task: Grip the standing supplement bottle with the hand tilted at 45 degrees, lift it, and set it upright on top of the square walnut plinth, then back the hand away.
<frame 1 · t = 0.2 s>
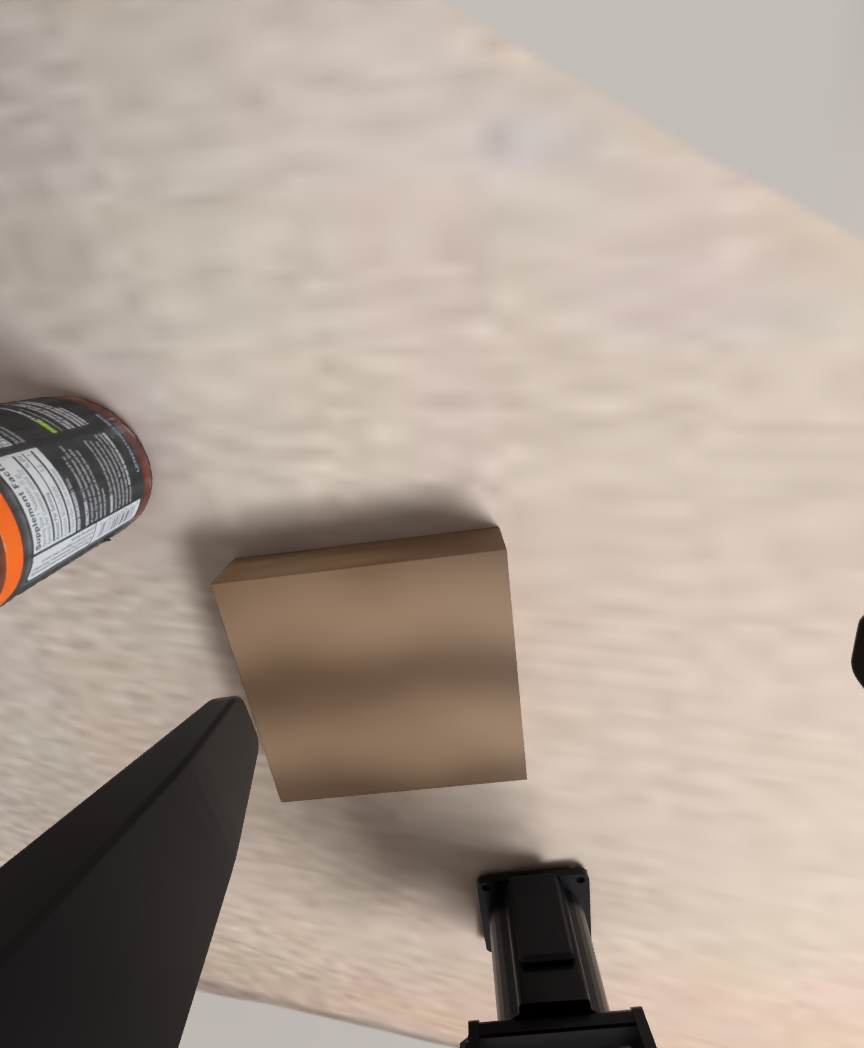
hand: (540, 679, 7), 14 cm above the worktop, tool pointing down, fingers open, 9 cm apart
supplement bottle: (91, 464, 21), on the worktop
walnut plinth: (386, 655, 24), on the worktop
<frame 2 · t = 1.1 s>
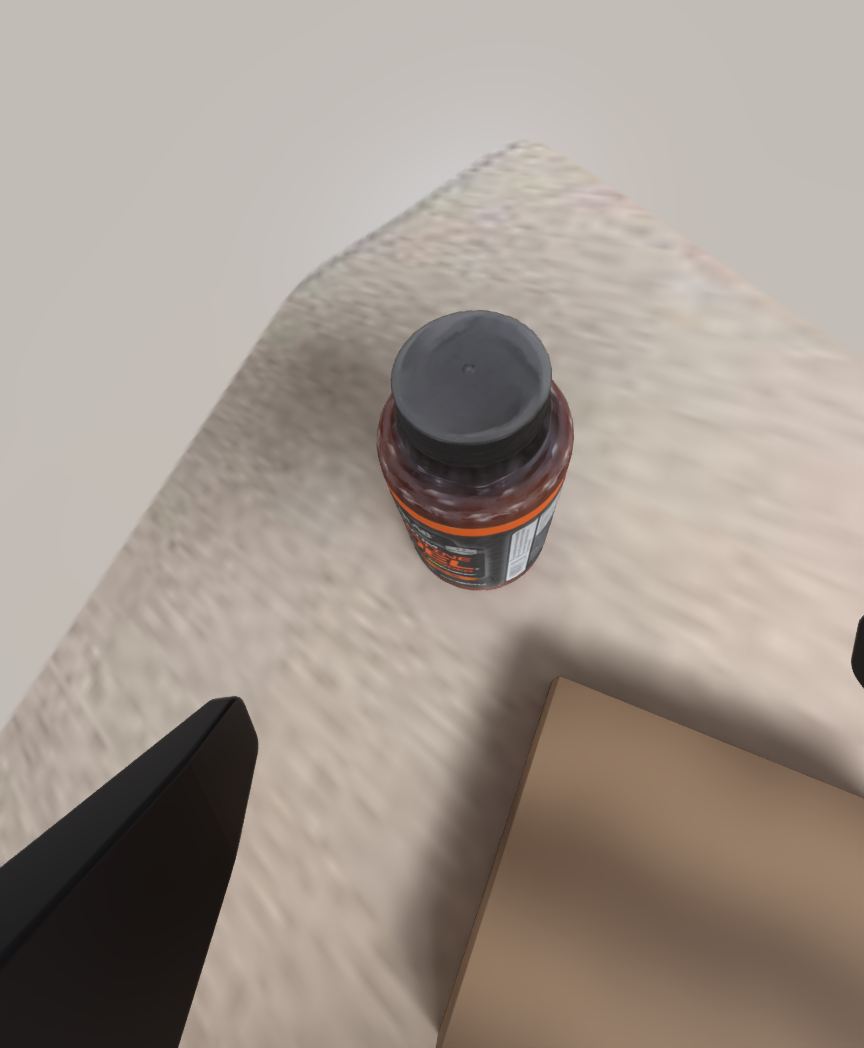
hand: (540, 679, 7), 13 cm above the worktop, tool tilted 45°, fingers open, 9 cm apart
supplement bottle: (479, 532, 23), on the worktop
walnut plinth: (670, 925, 17), on the worktop
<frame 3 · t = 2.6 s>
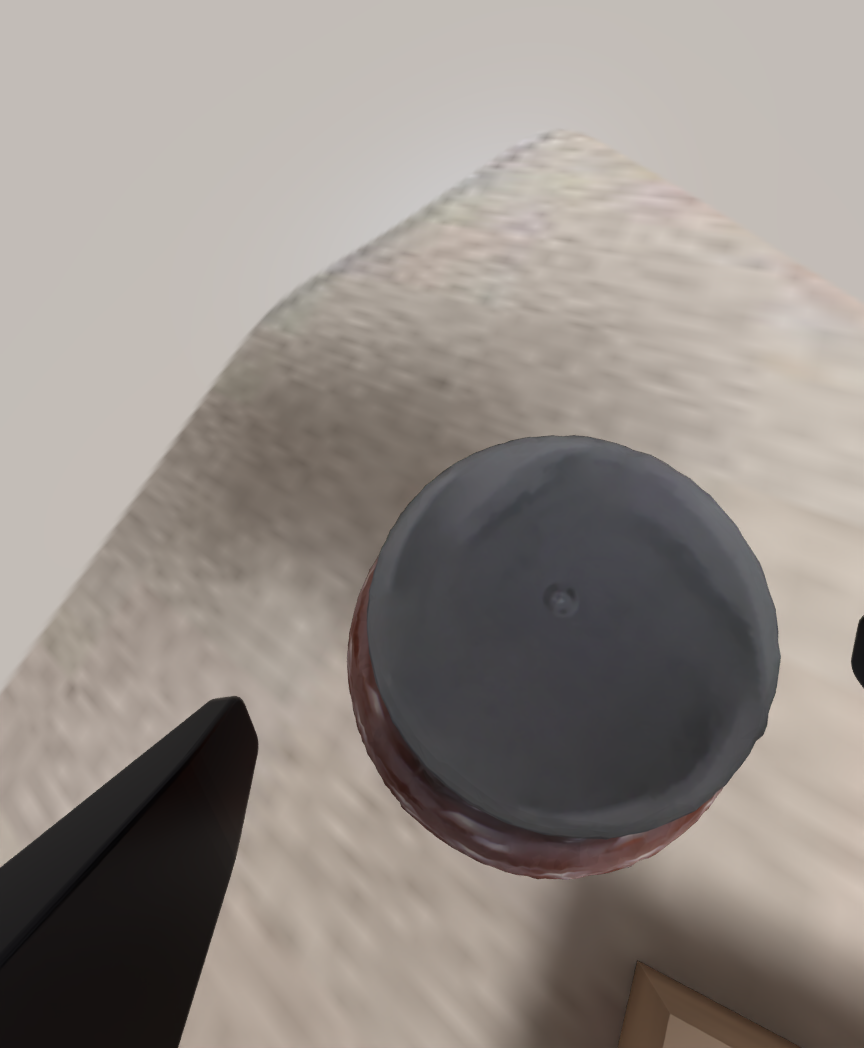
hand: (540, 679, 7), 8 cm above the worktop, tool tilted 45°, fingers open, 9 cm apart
supplement bottle: (513, 686, 15), on the worktop
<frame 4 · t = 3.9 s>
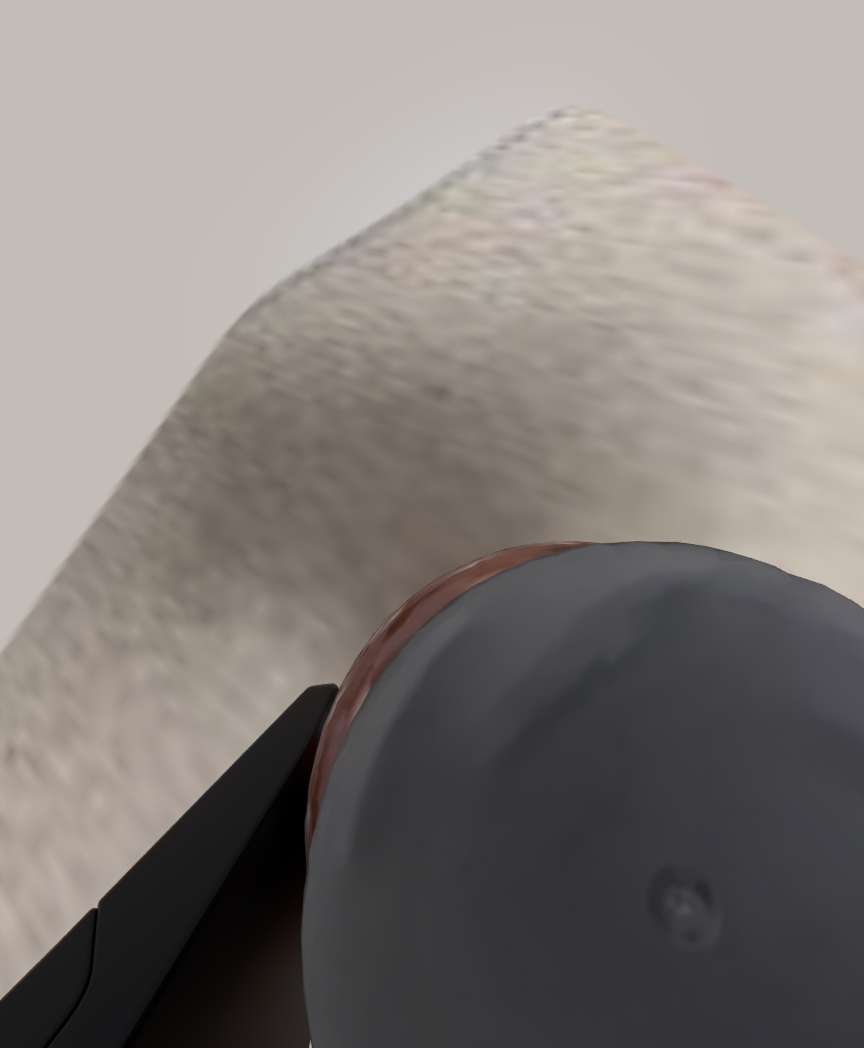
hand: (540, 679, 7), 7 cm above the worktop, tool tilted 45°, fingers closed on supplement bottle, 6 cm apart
supplement bottle: (527, 755, 13), on the worktop, touching gripper
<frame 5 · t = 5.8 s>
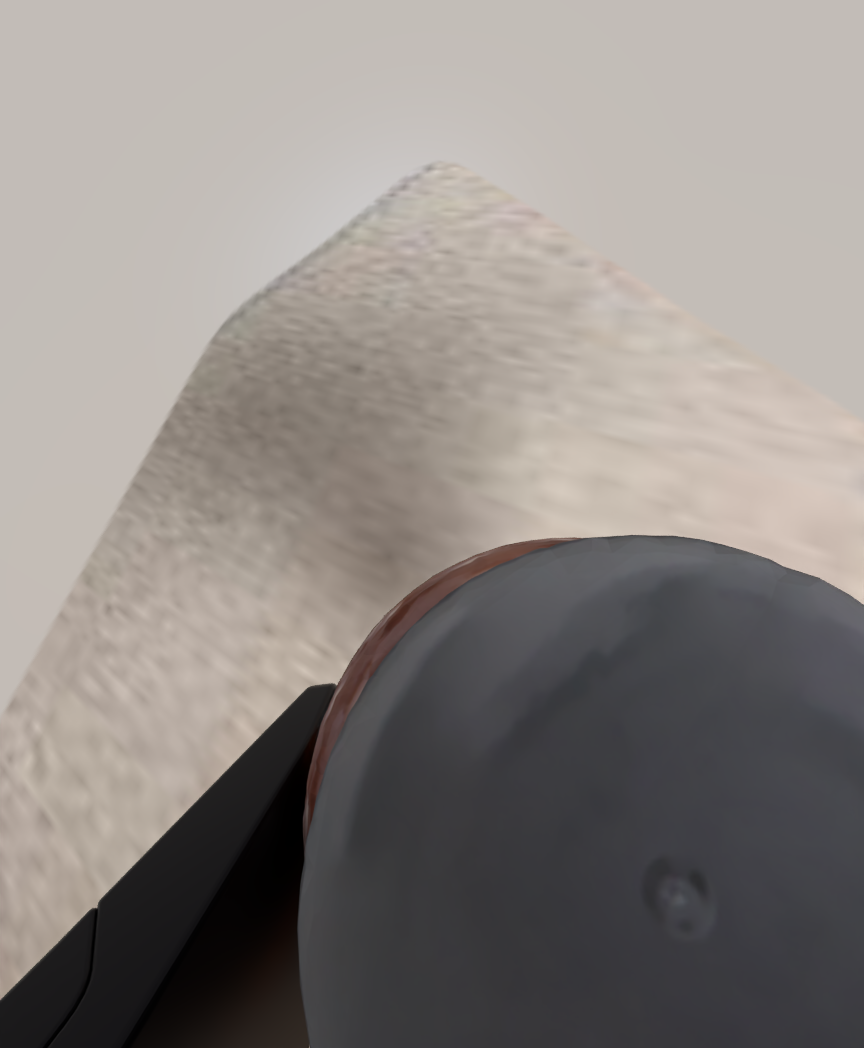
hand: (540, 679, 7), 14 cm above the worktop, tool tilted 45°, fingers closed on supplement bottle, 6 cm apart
supplement bottle: (526, 753, 13), point 7 cm above the worktop, touching gripper
when the fingers open (10 cm above the worktop, at t = 8.0 s): supplement bottle drops 1 cm, resting on walnut plinth.
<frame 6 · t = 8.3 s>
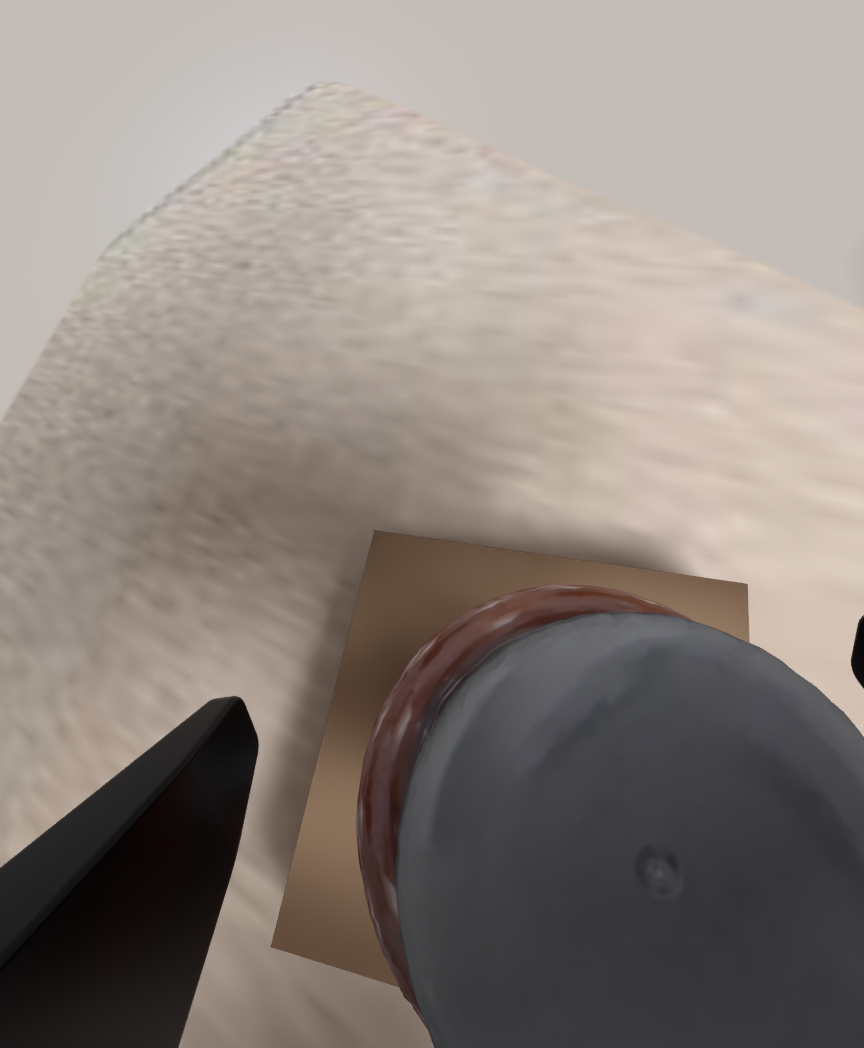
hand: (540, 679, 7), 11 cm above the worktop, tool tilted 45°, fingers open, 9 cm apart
supplement bottle: (525, 758, 14), point 2 cm above the worktop, touching walnut plinth
walnut plinth: (521, 748, 16), on the worktop
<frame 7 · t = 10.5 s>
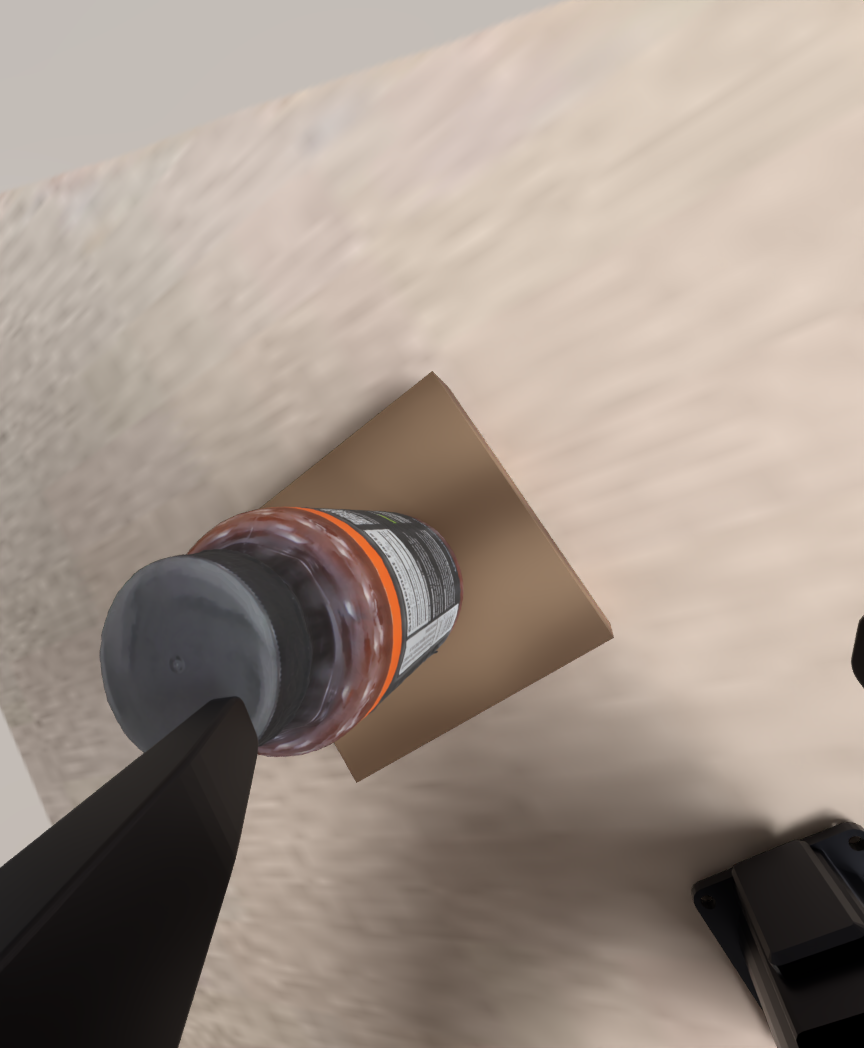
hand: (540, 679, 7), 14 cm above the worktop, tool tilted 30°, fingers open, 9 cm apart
supplement bottle: (397, 585, 20), point 2 cm above the worktop, touching walnut plinth
walnut plinth: (413, 575, 22), on the worktop
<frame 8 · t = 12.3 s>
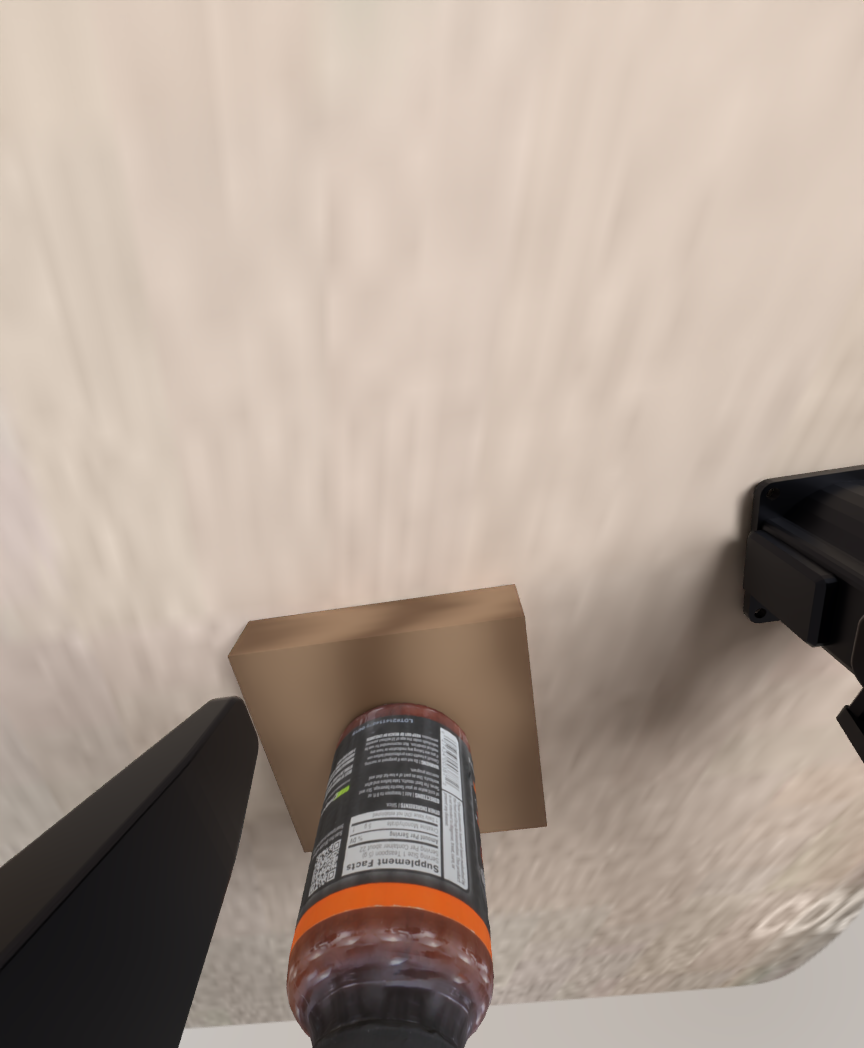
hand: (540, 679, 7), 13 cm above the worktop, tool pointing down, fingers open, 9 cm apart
supplement bottle: (405, 744, 22), point 2 cm above the worktop, touching walnut plinth
walnut plinth: (404, 707, 24), on the worktop
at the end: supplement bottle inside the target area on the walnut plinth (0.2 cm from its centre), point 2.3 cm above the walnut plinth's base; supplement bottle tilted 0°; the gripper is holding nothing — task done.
